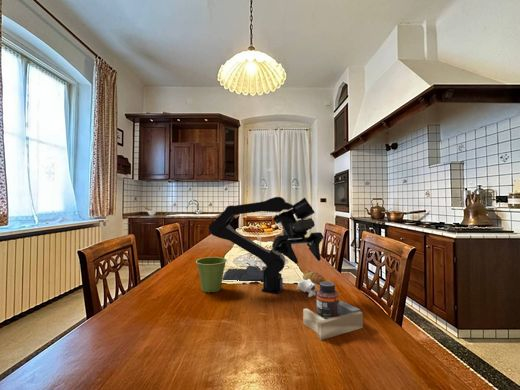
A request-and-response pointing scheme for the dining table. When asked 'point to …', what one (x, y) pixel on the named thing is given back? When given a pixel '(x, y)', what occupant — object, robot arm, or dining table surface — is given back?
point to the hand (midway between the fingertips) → (308, 261)
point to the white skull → (307, 287)
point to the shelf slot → (334, 321)
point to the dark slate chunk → (245, 274)
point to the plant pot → (211, 273)
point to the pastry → (313, 277)
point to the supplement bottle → (327, 301)
